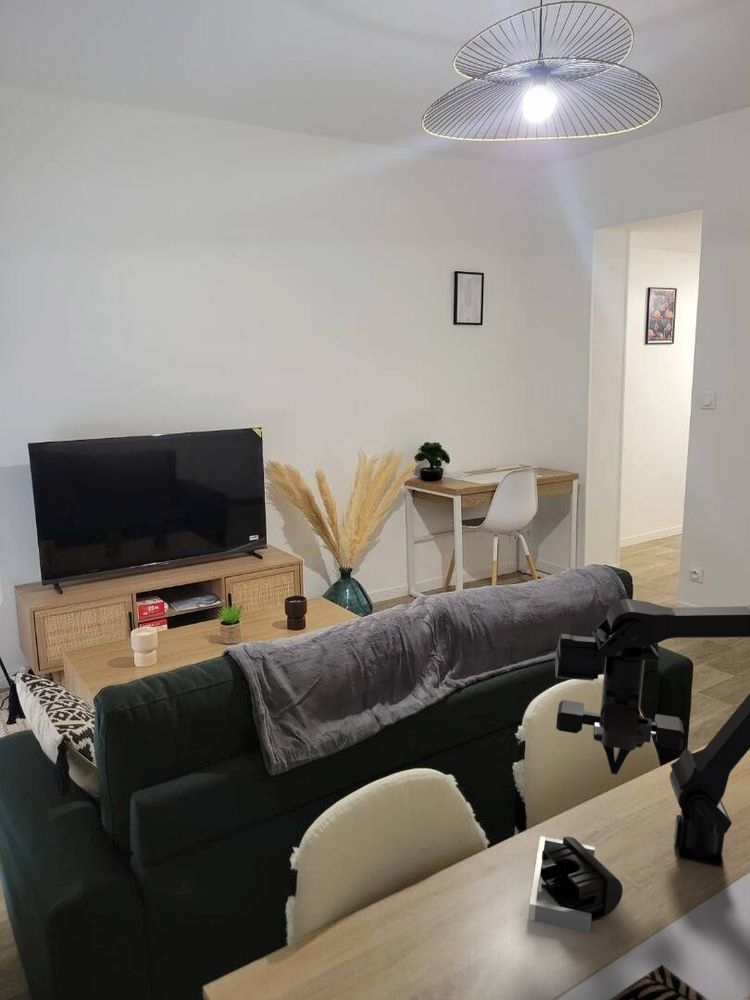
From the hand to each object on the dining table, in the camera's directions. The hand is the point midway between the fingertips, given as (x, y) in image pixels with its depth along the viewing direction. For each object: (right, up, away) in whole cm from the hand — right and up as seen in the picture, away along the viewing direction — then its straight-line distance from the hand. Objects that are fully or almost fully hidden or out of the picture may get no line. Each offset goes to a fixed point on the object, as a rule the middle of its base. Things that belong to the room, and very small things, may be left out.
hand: (614, 773), depth 123 cm
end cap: (-8, -15, -11) cm, 20 cm away
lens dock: (-10, -14, -9) cm, 19 cm away
